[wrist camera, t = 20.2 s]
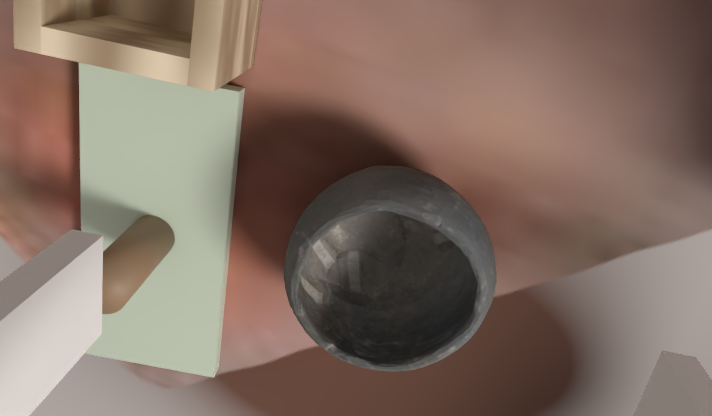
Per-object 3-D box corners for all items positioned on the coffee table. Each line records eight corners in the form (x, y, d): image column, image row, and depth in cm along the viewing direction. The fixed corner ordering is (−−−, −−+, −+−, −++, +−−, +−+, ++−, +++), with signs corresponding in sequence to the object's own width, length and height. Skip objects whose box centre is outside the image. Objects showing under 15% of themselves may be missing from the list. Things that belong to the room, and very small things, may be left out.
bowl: (393, 343, 53) (391, 423, 44) (264, 234, 50) (232, 295, 41) (523, 234, 48) (551, 298, 39) (389, 106, 45) (384, 142, 36)
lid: (246, 86, 46) (200, 121, 36) (220, 363, 56) (178, 452, 46) (91, 58, 46) (2, 85, 36) (93, 340, 56) (23, 423, 46)
